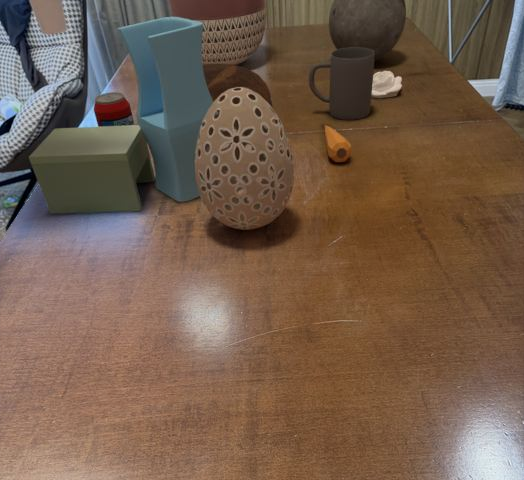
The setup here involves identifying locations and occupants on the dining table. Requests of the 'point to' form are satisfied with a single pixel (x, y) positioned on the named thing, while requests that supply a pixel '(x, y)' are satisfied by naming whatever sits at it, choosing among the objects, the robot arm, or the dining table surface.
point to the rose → (385, 84)
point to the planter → (225, 27)
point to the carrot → (337, 145)
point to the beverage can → (112, 110)
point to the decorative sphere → (367, 24)
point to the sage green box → (92, 169)
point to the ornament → (243, 161)
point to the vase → (170, 97)
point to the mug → (348, 82)
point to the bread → (233, 80)
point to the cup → (49, 15)
